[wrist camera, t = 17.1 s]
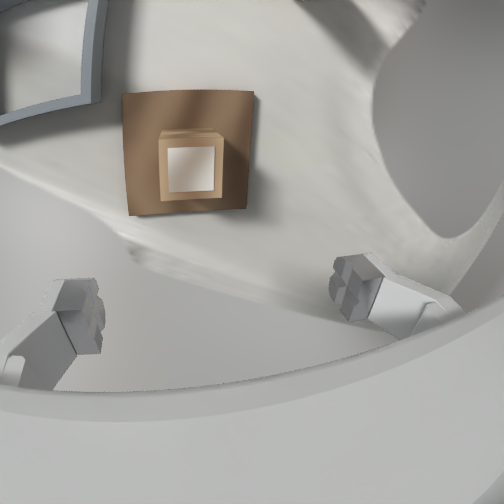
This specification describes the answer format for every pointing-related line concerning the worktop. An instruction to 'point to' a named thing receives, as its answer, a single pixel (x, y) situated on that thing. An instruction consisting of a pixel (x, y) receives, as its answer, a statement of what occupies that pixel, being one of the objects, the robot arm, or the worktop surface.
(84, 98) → the bin
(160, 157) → the oak block
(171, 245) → the worktop surface
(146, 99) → the walnut board
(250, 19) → the worktop surface
